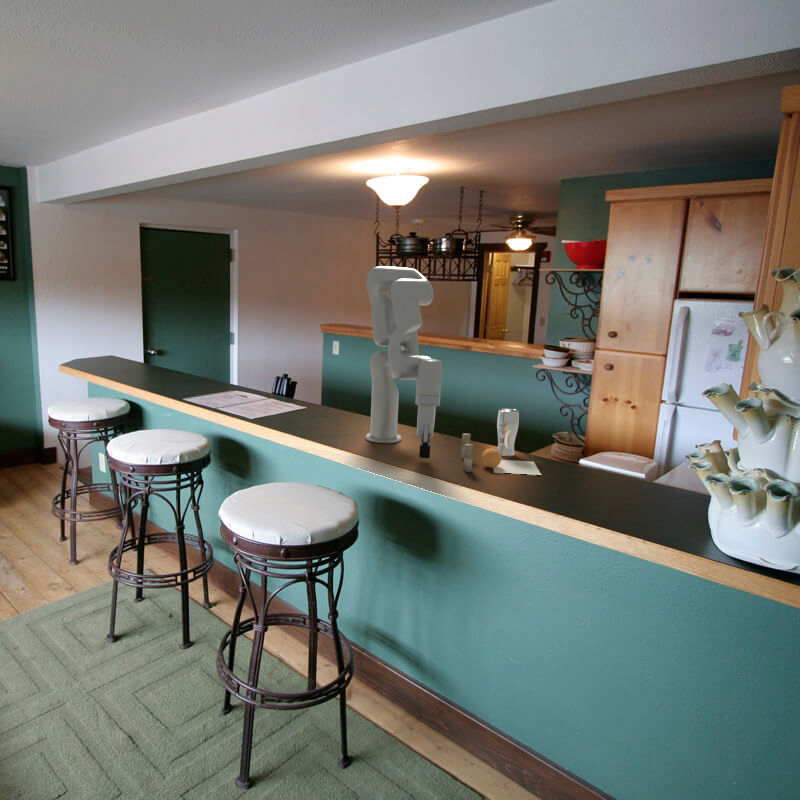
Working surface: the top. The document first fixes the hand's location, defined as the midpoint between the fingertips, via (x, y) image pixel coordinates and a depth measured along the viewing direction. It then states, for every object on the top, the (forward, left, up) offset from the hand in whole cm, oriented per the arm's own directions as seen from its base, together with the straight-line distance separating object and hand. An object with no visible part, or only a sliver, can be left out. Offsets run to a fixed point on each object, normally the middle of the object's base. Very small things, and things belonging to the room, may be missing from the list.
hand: (424, 457), depth 177 cm
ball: (+2, +20, +2) cm, 21 cm away
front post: (+6, +13, -2) cm, 15 cm away
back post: (-7, +13, -2) cm, 15 cm away
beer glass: (-15, +27, -2) cm, 31 cm away
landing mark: (0, +28, -2) cm, 28 cm away
